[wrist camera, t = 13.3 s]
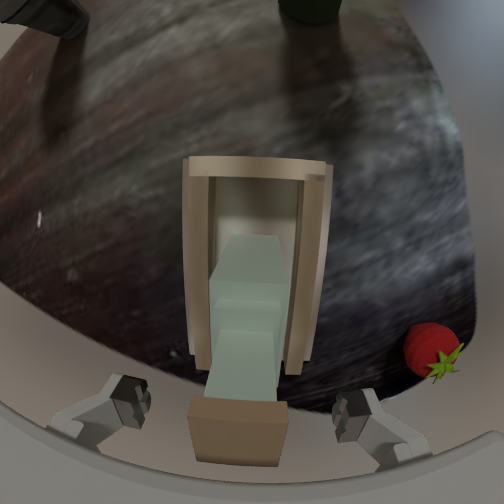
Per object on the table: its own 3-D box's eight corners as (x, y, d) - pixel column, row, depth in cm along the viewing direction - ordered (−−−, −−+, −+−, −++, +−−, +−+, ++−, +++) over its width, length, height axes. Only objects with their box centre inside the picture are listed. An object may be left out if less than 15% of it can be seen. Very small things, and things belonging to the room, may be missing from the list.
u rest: (192, 346, 29) (182, 374, 25) (187, 159, 24) (170, 156, 19) (307, 352, 29) (314, 381, 24) (329, 165, 24) (344, 164, 19)
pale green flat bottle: (232, 233, 24) (166, 372, 7) (277, 235, 24) (311, 381, 7) (230, 305, 26) (192, 477, 9) (272, 307, 26) (282, 483, 9)
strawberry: (404, 297, 27) (450, 345, 17) (443, 314, 27) (486, 357, 18) (378, 339, 29) (411, 396, 19) (418, 351, 29) (453, 400, 19)
